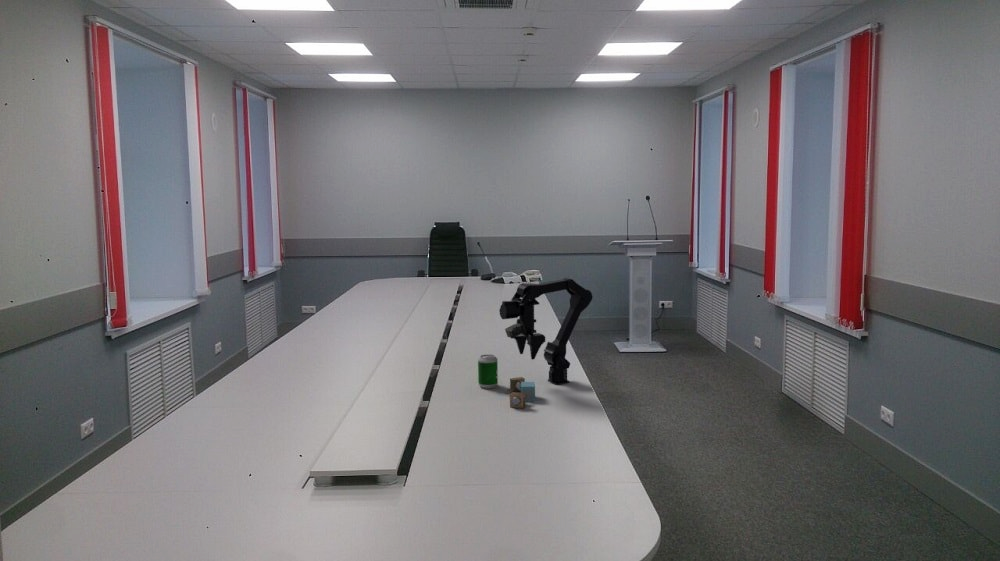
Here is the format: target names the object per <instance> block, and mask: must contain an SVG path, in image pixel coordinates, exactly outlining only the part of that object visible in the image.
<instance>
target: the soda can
mask: <svg viewBox="0 0 1000 561" xmlns="http://www.w3.org/2000/svg"><path fill="white" fill-rule="evenodd" d="M477 367H478V369H477V372H478V374H477V375H478V376H477V378H478V379H477V380H478V385H479V386H480V388H482V389H494V388H496V387H497V385H498V383H499V380H498V379H499V378H498V377H499V376H498V375H499V374H498V371H499V370H498V358H497V356H496V355H494V354H482V355H480V356H479V357H478V359H477Z"/></svg>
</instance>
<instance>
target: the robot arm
mask: <svg viewBox="0 0 1000 561" xmlns="http://www.w3.org/2000/svg"><path fill="white" fill-rule="evenodd" d="M559 291H566V293H568V294H569V295H570V297H569V308H568V310H567V313H566V315H565V316H564V317H565V318H564V320H563V321H562V323H561V325H560V328H559V330H558V332H557V334H556V337H555V339H554V340H553V341H552V342H550V341H547V343H546V336H545V335H544V334H542V333H539V332H537V329H535V323H537V319H535V306H536V305H537V306H538V305H540V302H539V301H538V300H537V298H540V297H541V296H543V295H545V294H552V293H555V292H559ZM592 301H593V293H592V291H591V290H590V289H586V288H585V287H583V286H582V285H580V284H579V283H577V282H576V281H575V280H574V279H571V278H569V277H564V278H562V279H556V280H550V281H547V282H541V283H531V282H530V283H529V282H528V283H525V282H523V283H520V284H519V285H518V286H517V288H516V291H515V293H514V295H513V297H512V298H511V299H510V300H502V302H501V305H500V308H499V310H498V311H499V316H500V318H501V319H502V320H510V319H516V322H515V323H514V324H512V325H509V326H508V327H506V328H504V331H505V333H506V337H508V338H510V339H513V340H514V341H515V343H516V345H517V349H518V351H519V354H520V355H524V352H525V347H526V345H528V346H529V352H530V359H531V360H535V359H536V356H537V354H538V353H539V351H540V349H541V347H542V345H543V344H544V343H546V346H545V347H544V349H543V352H544V353H543V357H544V360H545V361H546V362H547V365H549V370H548V379H547V381H548V382H550V383H551V384H554V385H561V384H566V383H570V380H568V369H569V368H570V365H571V362H570V361H569V360H568V359H567V358H566V355H567V344H568V342H569V340H570V337H571V335H572V333H573V331H574V328H575V327H576V325H577V322H578V320H579V318H580V315H581V314H582V312H584V310H586V309H587V308H588V307H589V305H590V303H591V302H592Z"/></svg>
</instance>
